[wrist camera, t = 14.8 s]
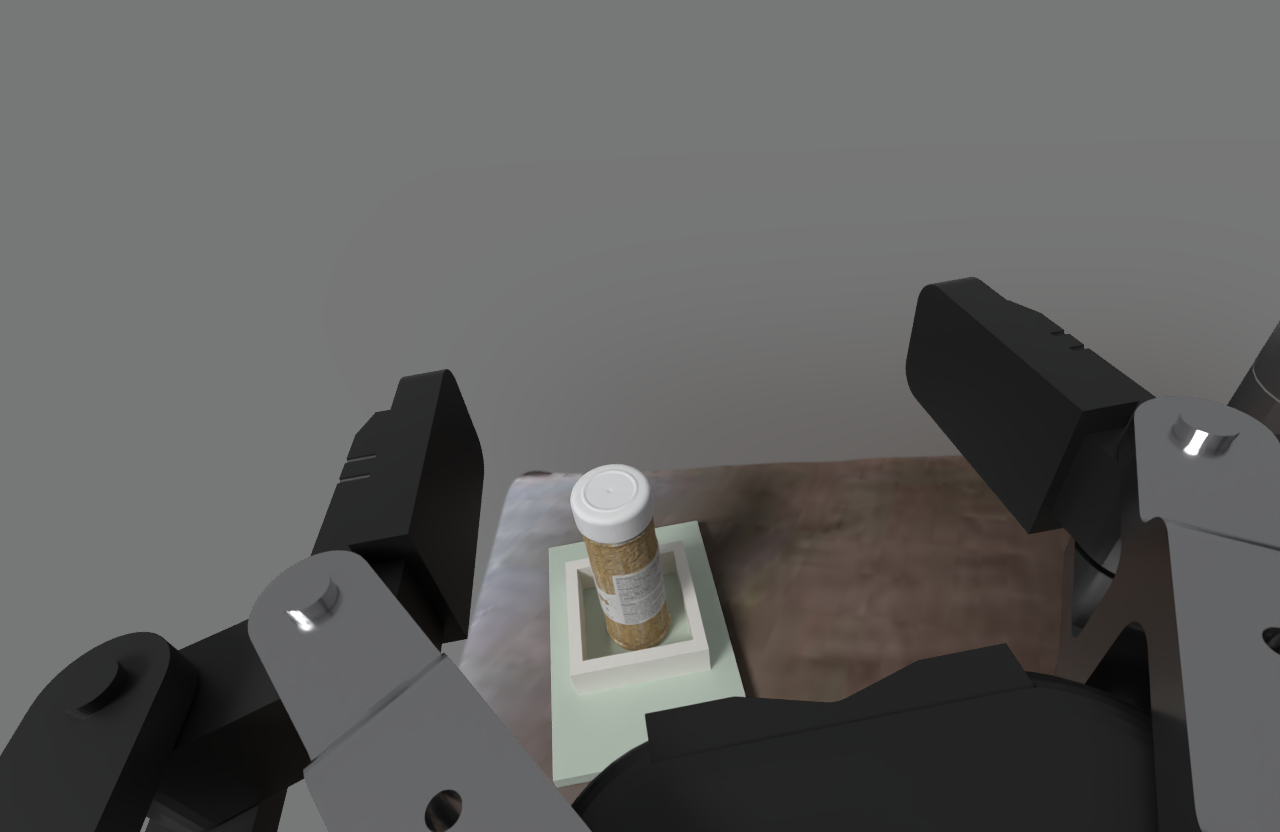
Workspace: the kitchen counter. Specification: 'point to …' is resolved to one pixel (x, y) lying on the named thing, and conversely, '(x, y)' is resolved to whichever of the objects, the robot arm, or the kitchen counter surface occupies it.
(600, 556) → the spice jar
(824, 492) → the kitchen counter surface
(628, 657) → the socket board
